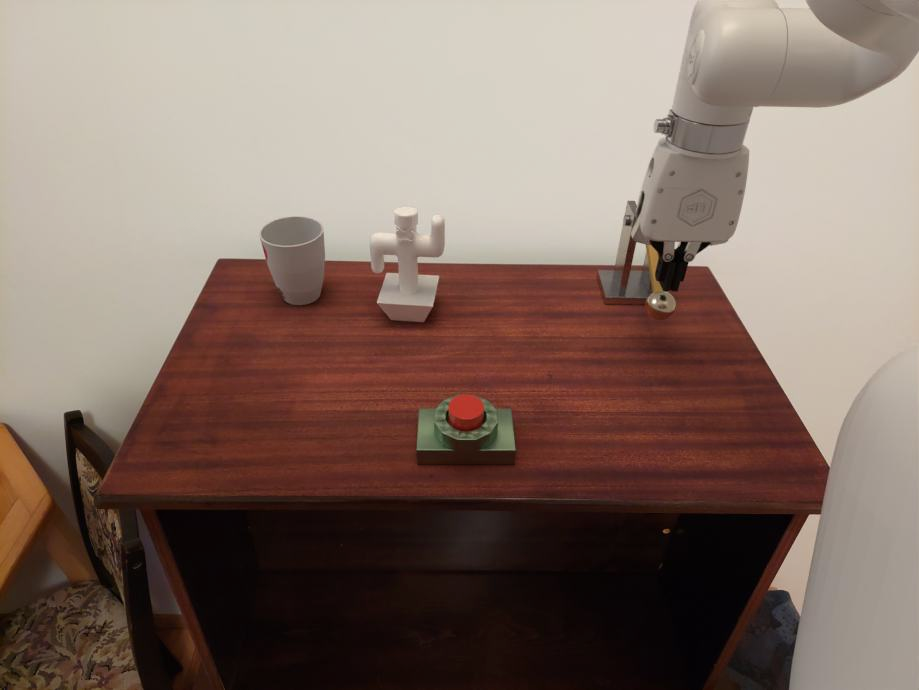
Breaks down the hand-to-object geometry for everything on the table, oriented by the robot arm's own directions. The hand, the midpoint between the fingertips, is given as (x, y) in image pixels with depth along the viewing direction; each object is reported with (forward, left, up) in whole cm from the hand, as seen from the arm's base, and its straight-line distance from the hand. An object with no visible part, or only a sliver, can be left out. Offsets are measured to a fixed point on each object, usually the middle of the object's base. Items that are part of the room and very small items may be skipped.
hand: (667, 285), depth 76 cm
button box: (0, +29, -9) cm, 31 cm away
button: (0, +29, -5) cm, 30 cm away
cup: (+36, +31, -9) cm, 48 cm away
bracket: (+10, -7, -9) cm, 15 cm away
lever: (+6, -4, -2) cm, 7 cm away
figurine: (+24, +21, -9) cm, 33 cm away
